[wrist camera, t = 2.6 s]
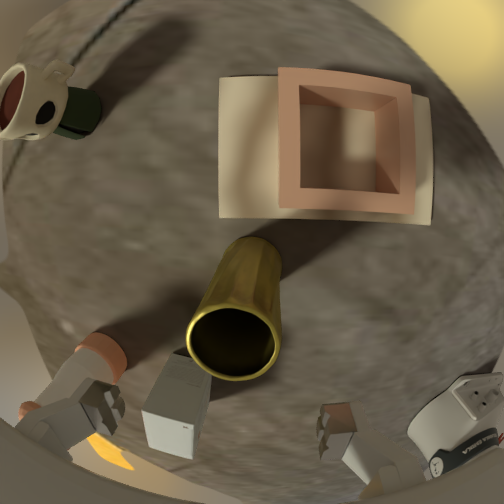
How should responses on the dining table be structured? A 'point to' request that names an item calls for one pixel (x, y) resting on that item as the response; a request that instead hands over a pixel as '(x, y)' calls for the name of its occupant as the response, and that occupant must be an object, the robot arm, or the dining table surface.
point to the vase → (239, 313)
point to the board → (307, 154)
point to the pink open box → (386, 134)
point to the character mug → (45, 103)
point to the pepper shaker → (82, 370)
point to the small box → (177, 407)
